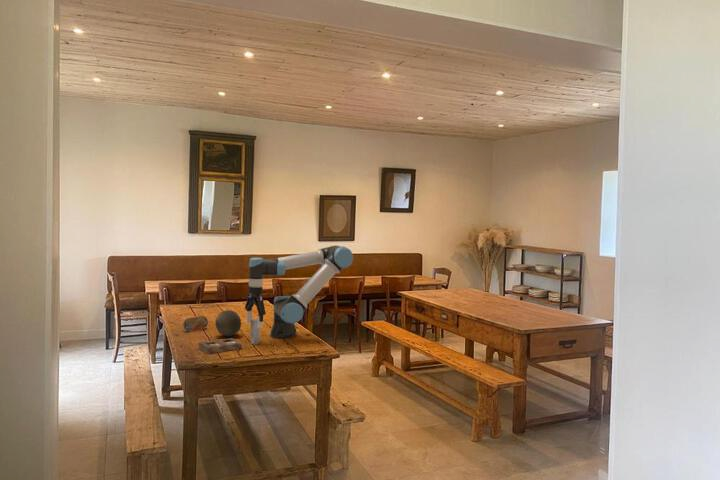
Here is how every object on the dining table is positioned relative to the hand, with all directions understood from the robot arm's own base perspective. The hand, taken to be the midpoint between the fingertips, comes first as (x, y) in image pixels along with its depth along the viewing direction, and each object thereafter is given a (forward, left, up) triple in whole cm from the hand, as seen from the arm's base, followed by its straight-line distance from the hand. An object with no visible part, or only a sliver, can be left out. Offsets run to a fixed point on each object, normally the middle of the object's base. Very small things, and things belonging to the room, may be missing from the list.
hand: (254, 325), depth 283 cm
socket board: (+20, +1, -10) cm, 22 cm away
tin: (+16, -47, -10) cm, 51 cm away
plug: (0, 0, -10) cm, 10 cm away
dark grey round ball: (+6, -22, -10) cm, 25 cm away
